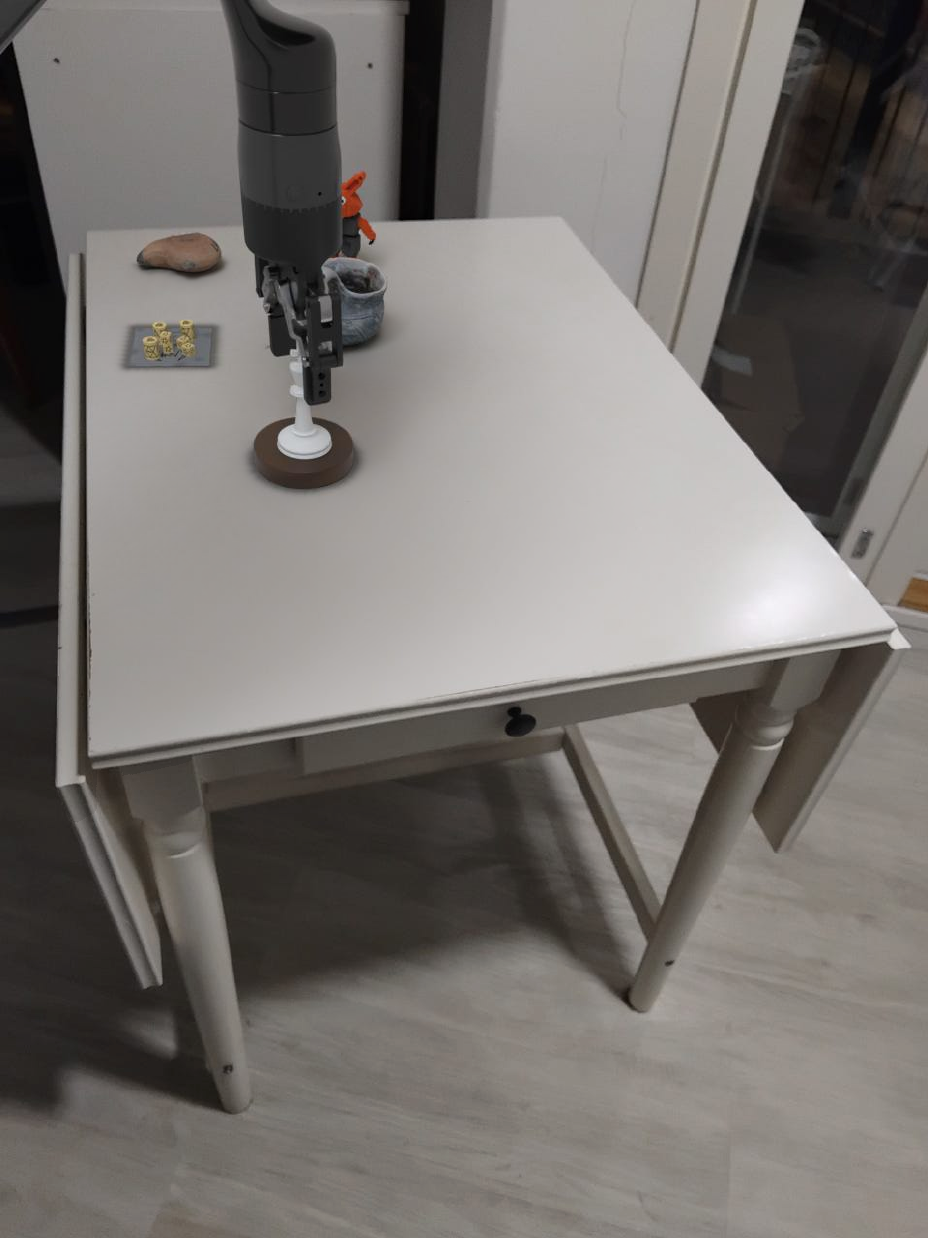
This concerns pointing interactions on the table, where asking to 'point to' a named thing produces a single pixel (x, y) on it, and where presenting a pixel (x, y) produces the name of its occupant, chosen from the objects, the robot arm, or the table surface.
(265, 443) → the walnut chip
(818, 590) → the table surface
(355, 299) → the mug
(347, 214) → the toy animal
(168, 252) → the brown rounded lump
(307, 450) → the chess piece
